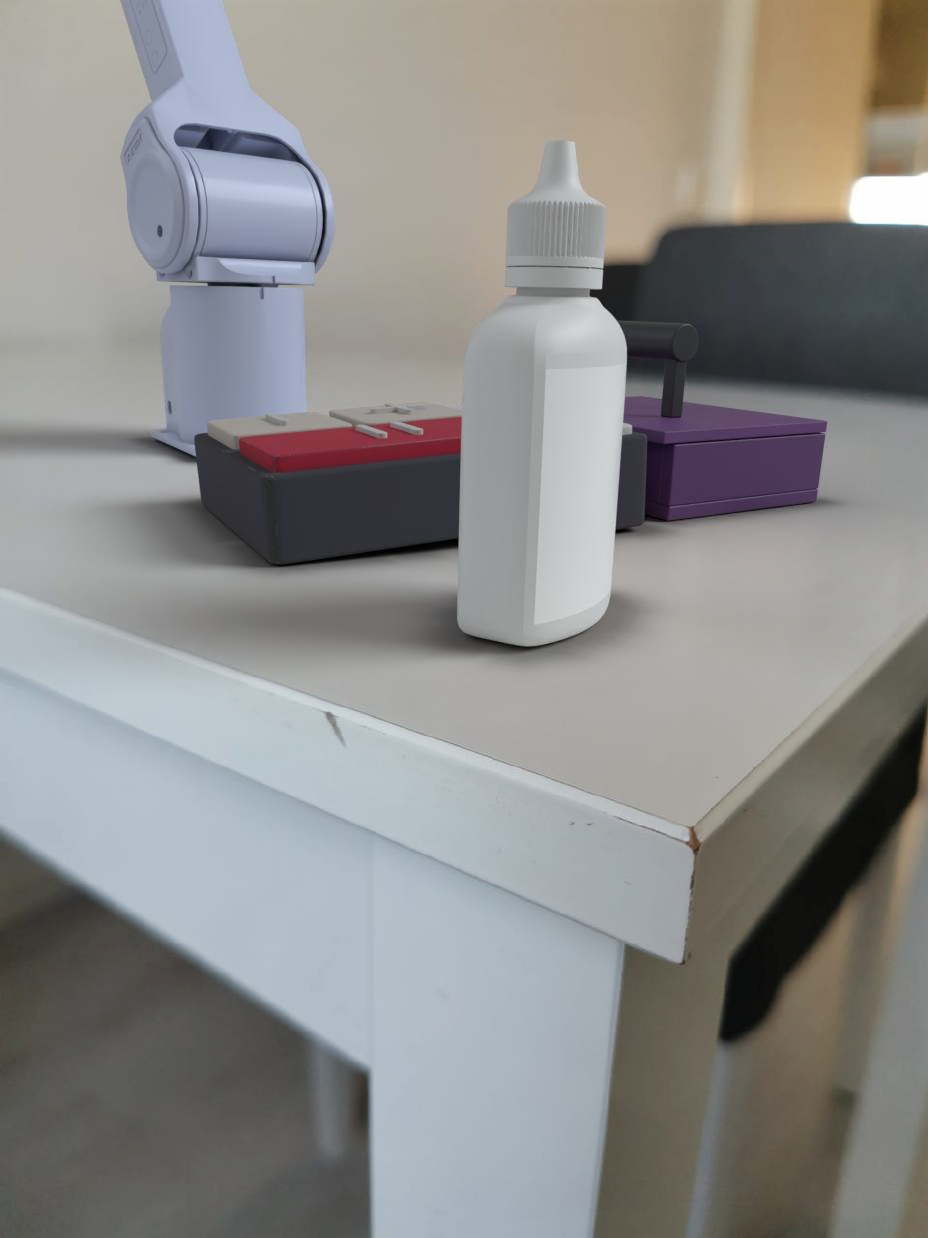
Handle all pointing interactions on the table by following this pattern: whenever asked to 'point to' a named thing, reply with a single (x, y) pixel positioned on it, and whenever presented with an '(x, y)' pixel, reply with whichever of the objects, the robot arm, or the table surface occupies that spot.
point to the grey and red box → (355, 479)
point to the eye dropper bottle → (542, 425)
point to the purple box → (731, 475)
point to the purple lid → (685, 419)
